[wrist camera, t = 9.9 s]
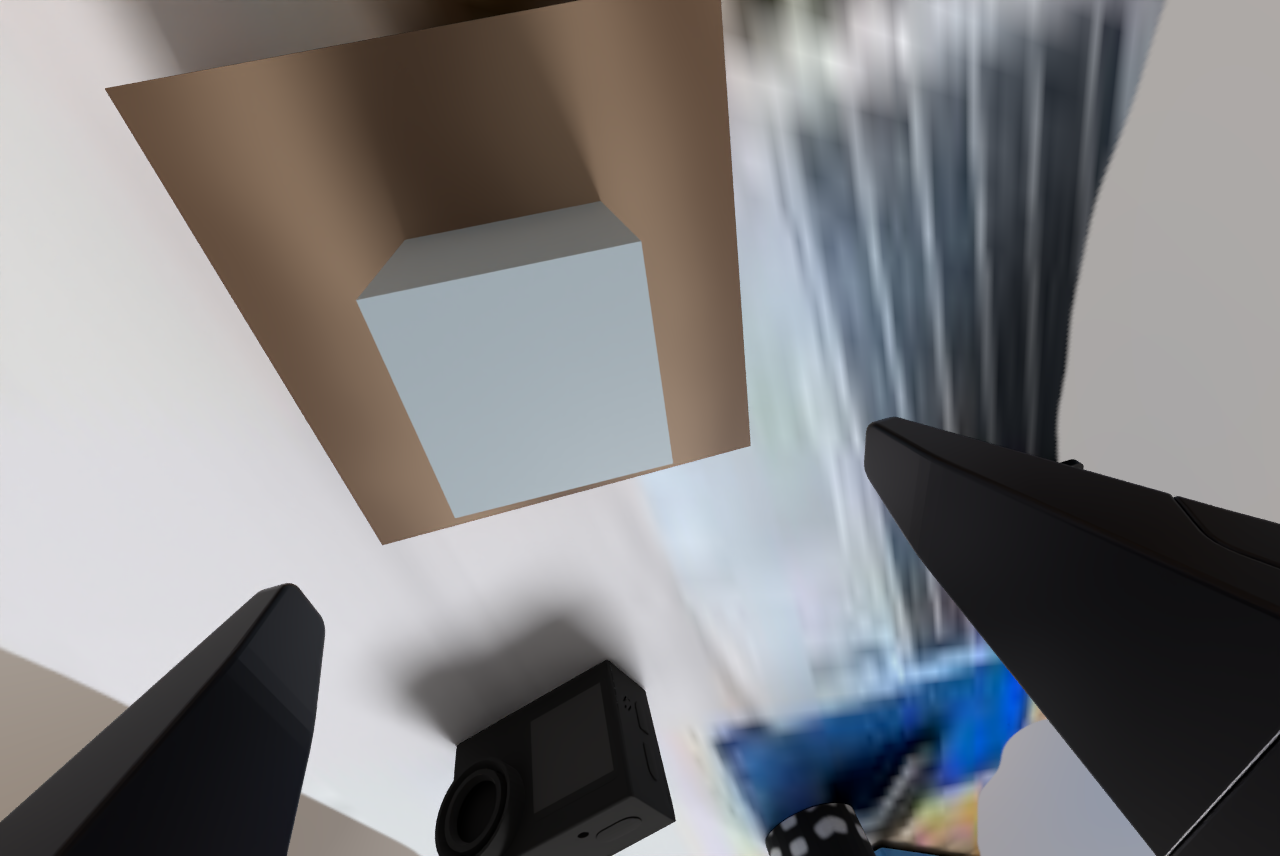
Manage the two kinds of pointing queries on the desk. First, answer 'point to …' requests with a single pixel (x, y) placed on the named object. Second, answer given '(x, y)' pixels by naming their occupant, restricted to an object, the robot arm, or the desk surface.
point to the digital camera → (560, 776)
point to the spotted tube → (820, 833)
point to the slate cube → (524, 354)
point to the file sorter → (897, 853)
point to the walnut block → (459, 203)
